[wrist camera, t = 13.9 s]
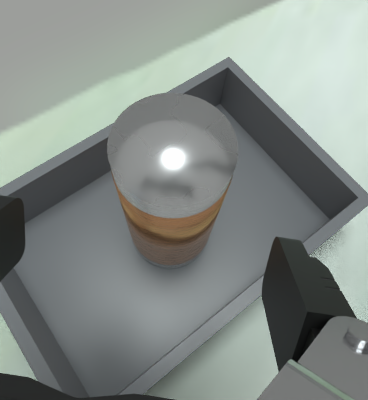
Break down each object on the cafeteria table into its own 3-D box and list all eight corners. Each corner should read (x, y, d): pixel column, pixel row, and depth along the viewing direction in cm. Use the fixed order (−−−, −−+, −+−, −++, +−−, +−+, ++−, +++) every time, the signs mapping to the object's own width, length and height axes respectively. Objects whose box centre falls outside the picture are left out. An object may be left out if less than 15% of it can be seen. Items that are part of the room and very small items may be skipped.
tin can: (211, 201, 29) (243, 101, 17) (203, 274, 27) (234, 217, 15) (139, 191, 29) (121, 84, 17) (124, 263, 27) (91, 196, 15)
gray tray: (219, 99, 34) (229, 56, 29) (339, 224, 30) (374, 200, 25) (-12, 240, 28) (-52, 217, 23) (95, 427, 23) (76, 450, 18)
